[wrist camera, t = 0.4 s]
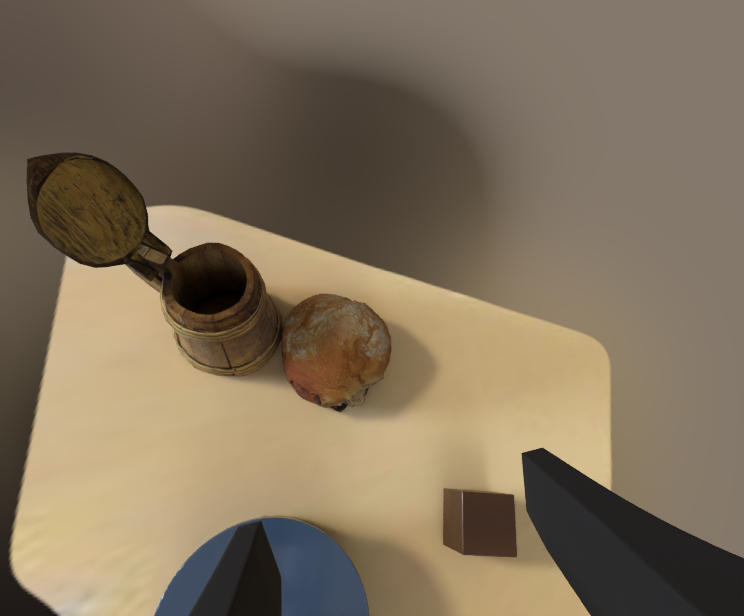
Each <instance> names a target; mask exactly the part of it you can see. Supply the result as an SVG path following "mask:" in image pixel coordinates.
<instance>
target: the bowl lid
mask: <svg viewBox="0 0 744 616" xmlns="http://www.w3.org/2000/svg"><path fill="white" fill-rule="evenodd" d="M257 521H262V524H263V527H264V530H265V532H266V535H267V538H268V541H269V544H270V546H271V549H272V552H273V555H274V558H275V560H276V563H277V566H278V569H279V572H280V575H281V586H282V616H369V608H368V603H367V598H366V594H365V590H364V587H363V585H362V582H361V579H360V577H359V575H358V572H357V570H356V568H355V566H354V565H353V563H352V561H351V560H350V558H349V557H348V555H347V554H346V552H345V551H344V550H343V549H342V548H341V547H340V546H339V544H338V543H337V542H336V541H335V540H333V539H332V538H331V537H330V536H329V535H328V534H326V533H325V532H323V531H322V530H320V529H318V528H317V527H315V526H313V525H310V524H308V523H306V522H303V521H300V520H296V519H293V518H285V517H263V518H256V519H251V520H248V521H245V522H241V523H239V524H236V525H234V526H232V527H230V528H227V529H225V530H224V531H222V532H220V533H219V534H217V535H215V536H214V537H212V538H211V539H210V540H208V541H207V542H206V543H205V544H203V545H202V546H201V547H200V548H199V549H198V550H197V551H196V552H194V553H193V554H192V555H191V556H190V557H189V558H188V559H187V561H186V562H185V563H184V564H183V565H182V567H181V568H180V569H179V570H178V572H177V573H176V575H175V576H174V578H173V579H172V581H171V582H170V584H169V585H168V587H167V589H166V591H165V592H164V594H163V596H162V598H161V600H160V602H159V605H158V607H157V610H156V612H155V615H154V616H188V615H189V613H190V612H191V610H192V608H193V607H194V605H195V603H196V601H197V600H198V598H199V596H200V594H201V593H202V591H203V589H204V587H205V586H206V584H207V582H208V580H209V579H210V577H211V575H212V573H213V571H214V570H215V568H216V566H217V564H218V562H219V560H220V558H221V557H222V555H223V553H224V551H225V549H226V547H227V545H228V543H229V542H230V540H231V538H232V536H233V534H234V532H235V531H236V529H237V528H238V526H242V525H246V524H250V523H254V522H257Z"/></svg>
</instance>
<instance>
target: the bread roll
mask: <svg viewBox="0 0 744 616" xmlns="http://www.w3.org/2000/svg"><path fill="white" fill-rule="evenodd" d="M282 348H283V350H282V356H283V363H284V366H285V372H286V375H287V379H288V382H289V383H290V385H291V386H292V387H293V388H294V389H295V391H296V392H297V394H298V395H299V396H300V397H302V398H303V399H305V400H307V401H309V402H312V403H314V404H317V405H319V406H322V407H326V408H328V407H330V408H333V409H334V410H336V411H339V412H341V411H342V410H344V409H345V408H346V407H347V405H349V406H351V407H354V406H359V405H362V403H363V402H364V401H365V399H364V396H365V395H366V393H367V390H368V387H369V386H370V385H373V384H375V383H376V382H377V381H380V380H381V379H383V377H384V372H385V370H386V367H387V365H388V363H389V360H390V354H391V337H390V334H389V331H388V328H387V326H386V324H385V323H384V321H383V320H382V319H381V318H380V317H379V315H378V314H376V313H375V312H374V311H373V310H372V309H371V308H370V307H369V306H368V305H366V303H361V302H357V301H352V300H350V299H348V298H345V297H341V296H337V295H331V294H319V295H315V296H312V297H309V298H307V299H305V300H304V301H302V302H301V303H300V304H298V305H297V306H296V307H295V308H294V309H293V310H292V311H291V313H290V314H289V316H288V317H287V318H286V320H285V322H284V327H283V335H282Z"/></svg>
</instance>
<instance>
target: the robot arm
mask: <svg viewBox="0 0 744 616" xmlns="http://www.w3.org/2000/svg"><path fill="white" fill-rule="evenodd" d="M522 463H523V475H524V486H525V498H526V509H527V513H528V515H529V517H530V519H531V520H532V522H533V524H534V526H535V528H536V530H537V532H538V534H539V536H540V538H541V540H542V542H543V543H544V545H545V547H546V549H547V550H548V552H549V553H550V555H551V557H552V558H553V560H554V561H555V563H556V564H557V566H558V567H559V569H560V570H561V572H562V573H563V575H564V576H565V578H566V579H567V581H568V582H569V584H570V585H571V587H572V588H573V590H574V591H575V593H576V594H577V596H578V597H579V599H580V600H581V602H582V603H583V605H584V606H585V608H586V609H587V611H588V612H589V613H590V615H591V616H744V558H742V557H739V556H737V555H735V554H732V553H730V552H728V551H725V550H723V549H721V548H719V547H716V546H714V545H712V544H710V543H708V542H706V541H704V540H701V539H699V538H697V537H695V536H693V535H691V534H689V533H686V532H685V531H682V530H680V529H679V528H677V527H675V526H673V525H671V524H669V523H667V522H665V521H663V520H661V519H659V518H657V517H656V516H654V515H652V514H650V513H648V512H646V511H645V510H643V509H641V508H639V507H637V506H635V505H634V504H632V503H630V502H628V501H627V500H625V499H623V498H622V497H620V496H618V495H617V494H615V493H613V492H612V491H610V490H608V489H607V488H605V487H603V486H602V485H600V484H598V483H597V482H595V481H594V480H592V479H590V478H589V477H587V476H586V475H584V474H583V473H581V472H580V471H578V470H576V469H575V468H573V467H572V466H570V465H569V464H567V463H566V462H564V461H563V460H561V459H559V458H558V457H556V456H555V455H553V454H552V453H550V452H549V451H547V450H545V449H544V448H540V449H536V450H532V451H528V452H524V453H522ZM188 616H282V586H281V575H280V572H279V569H278V566H277V563H276V560H275V558H274V555H273V552H272V549H271V546H270V544H269V541H268V538H267V535H266V532H265V530H264V527H263V524H262V521H257V522H254V523H250V524H246V525H242V526H238V528H237V529H236V531H235V532H234V534H233V536H232V538H231V540H230V542H229V543H228V545H227V547H226V549H225V551H224V553H223V555H222V557H221V558H220V560H219V562H218V564H217V566H216V568H215V570H214V571H213V573H212V575H211V577H210V579H209V580H208V582H207V584H206V586H205V587H204V589H203V591H202V593H201V594H200V596H199V598H198V600H197V601H196V603H195V605H194V607H193V608H192V610H191V612H190V613H189V615H188Z"/></svg>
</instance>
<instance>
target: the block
mask: <svg viewBox="0 0 744 616" xmlns="http://www.w3.org/2000/svg"><path fill="white" fill-rule="evenodd" d="M443 544H444V545H445V546H447V547H449V548H451V549H453V550H455V551H457V552H459V553H461V554H463V555H476V556H497V557H517V546H516V526H515V506H514V495H512V494H505V493H497V492H489V491H475V490H461V489H446V488H444V525H443Z"/></svg>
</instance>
